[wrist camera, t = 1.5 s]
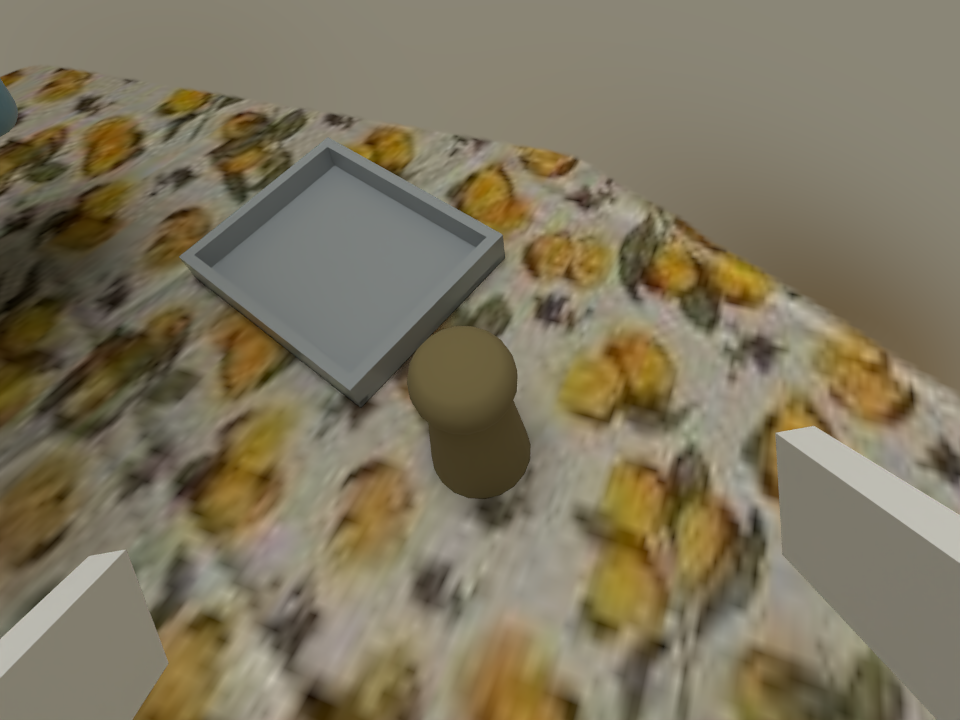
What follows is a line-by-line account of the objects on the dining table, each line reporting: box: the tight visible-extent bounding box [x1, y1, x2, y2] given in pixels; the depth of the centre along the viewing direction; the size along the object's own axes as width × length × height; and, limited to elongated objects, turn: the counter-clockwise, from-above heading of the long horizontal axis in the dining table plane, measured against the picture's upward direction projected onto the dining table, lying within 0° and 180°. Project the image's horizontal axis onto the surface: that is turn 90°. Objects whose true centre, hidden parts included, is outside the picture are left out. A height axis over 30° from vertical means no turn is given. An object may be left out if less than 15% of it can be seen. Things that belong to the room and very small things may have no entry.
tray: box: [179, 138, 505, 408], centre depth 43 cm, size 18×15×2 cm
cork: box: [407, 326, 530, 499], centre depth 31 cm, size 6×6×11 cm
